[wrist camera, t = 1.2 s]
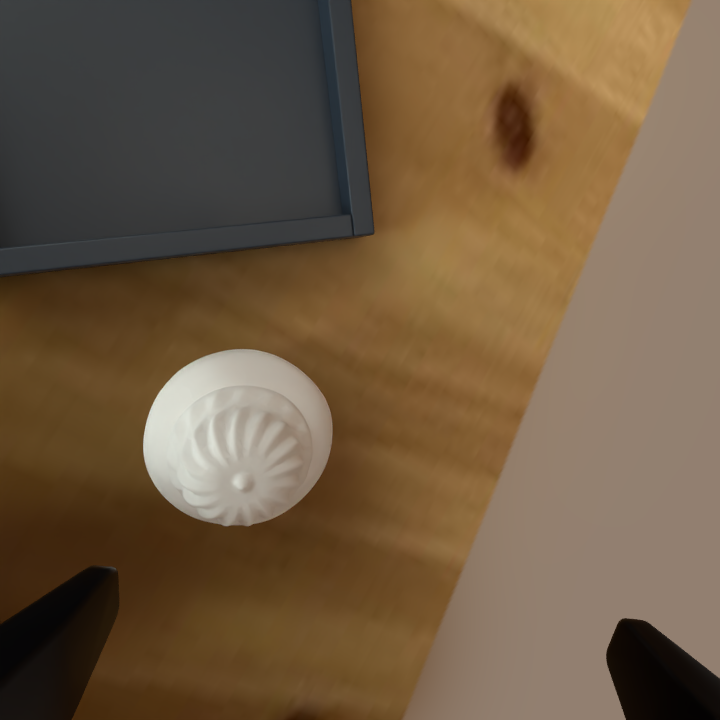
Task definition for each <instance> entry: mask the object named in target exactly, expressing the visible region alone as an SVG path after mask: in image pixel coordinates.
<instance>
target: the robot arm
mask: <svg viewBox="0 0 720 720" xmlns="http://www.w3.org/2000/svg"><path fill="white" fill-rule="evenodd" d="M118 609H119V585H118V572H117V570H116V568H114V567H107V566H97V565H93V566H90V567H88V568H86V569H84V570H83V571H81V572H80V573H78V574H77V575H75V576H74V577H72V578H71V579H69V580H68V581H66V582H64V583H63V584H61V585H60V586H58V587H57V588H55V589H54V590H52V591H51V592H49V593H48V594H46V595H45V596H43V597H42V598H40V599H38V600H37V601H35V602H34V603H32V604H31V605H29V606H28V607H26V608H25V609H23V610H22V611H20V612H19V613H17V614H15V615H14V616H12V617H11V618H9V619H8V620H6V621H5V622H3V623H2V624H0V720H71V719H72V717H73V715H74V713H75V711H76V709H77V706H78V704H79V702H80V700H81V697H82V695H83V693H84V691H85V688H86V686H87V684H88V681H89V679H90V677H91V675H92V672H93V670H94V668H95V665H96V663H97V661H98V658H99V656H100V654H101V652H102V649H103V647H104V645H105V642H106V640H107V638H108V636H109V633H110V631H111V629H112V626H113V624H114V622H115V619H116V617H117V613H118ZM606 659H607V665H608V668H609V671H610V674H611V677H612V680H613V683H614V686H615V689H616V692H617V695H618V697H619V700H620V703H621V706H622V709H623V712H624V715H625V718H626V720H720V678H718V677H717V676H716V675H714V674H713V673H712V672H711V671H709V670H708V669H707V668H706V667H704V666H703V665H702V664H700V663H699V662H698V661H697V660H695V659H694V658H693V657H692V656H690V655H689V654H688V653H686V652H685V651H684V650H683V649H681V648H680V647H679V646H678V645H676V644H675V643H674V642H672V641H671V640H670V639H669V638H667V637H666V636H665V635H663V634H662V633H661V632H660V631H658V630H657V629H656V628H655V627H653V626H652V625H651V624H649V623H648V622H646V621H643V620H637V619H627V618H625V619H622V620H620V621H619V623H618V624H617V627H616V629H615V631H614V634H613V636H612V639H611V641H610V644H609V646H608V649H607V654H606Z"/></svg>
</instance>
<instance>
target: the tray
mask: <svg viewBox="0 0 720 720" xmlns="http://www.w3.org/2000/svg"><path fill="white" fill-rule="evenodd" d="M373 234H374V222H373V212H372V203H371V193H370V183H369V173H368V163H367V153H366V143H365V133H364V123H363V114H362V104H361V94H360V84H359V74H358V64H357V54H356V44H355V34H354V25H353V15H352V5H351V0H0V277H6V276H16V275H25V274H34V273H43V272H52V271H61V270H70V269H79V268H88V267H97V266H106V265H115V264H124V263H133V262H142V261H151V260H161V259H170V258H179V257H188V256H197V255H206V254H215V253H224V252H233V251H242V250H251V249H260V248H269V247H278V246H287V245H296V244H305V243H315V242H324V241H333V240H342V239H351V238H360V237H364V236H369V235H373Z"/></svg>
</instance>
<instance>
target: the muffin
mask: <svg viewBox="0 0 720 720" xmlns="http://www.w3.org/2000/svg"><path fill="white" fill-rule="evenodd" d="M332 435H333V424H332V417H331V412H330V409H329V406H328V404H327V401H326V399H325V397H324V395H323V394H322V392H321V391H320V390H319V388H318V387H317V386H316V384H315V383H314V382H313V381H312V380H311V379H310V378H309V377H308V376H307V375H306V374H305V373H303V372H302V371H301V370H300V369H299V368H297V367H296V366H294V365H293V364H291V363H290V362H288V361H286V360H284V359H282V358H280V357H278V356H276V355H273V354H270V353H267V352H263V351H258V350H251V349H234V350H226V351H221V352H217V353H213V354H210V355H207V356H204V357H202V358H200V359H198V360H196V361H194V362H192V363H190V364H188V365H187V366H185V367H184V368H182V369H181V370H180V371H178V372H177V373H176V374H175V375H174V376H173V377H172V378H171V379H170V380H169V381H168V382H167V383H166V384H165V386H164V387H163V388H162V389H161V391H160V392H159V394H158V396H157V397H156V399H155V401H154V403H153V405H152V407H151V410H150V413H149V416H148V419H147V423H146V427H145V433H144V441H143V452H144V459H145V464H146V467H147V470H148V473H149V475H150V477H151V479H152V481H153V483H154V484H155V486H156V488H157V489H158V490H159V491H160V493H161V494H162V495H163V496H164V497H165V498H166V499H167V500H168V501H169V502H170V503H171V504H172V505H174V506H175V507H176V508H177V509H179V510H181V511H182V512H184V513H185V514H187V515H189V516H191V517H194V518H197V519H199V520H203V521H206V522H211V523H216V524H221V525H223V526H230V525H244V526H250V525H252V524H256V523H261V522H264V521H267V520H270V519H273V518H275V517H277V516H279V515H281V514H283V513H284V512H286V511H287V510H289V509H290V508H292V507H293V506H294V505H296V504H297V503H298V502H299V501H300V500H301V499H302V498H303V497H304V496H305V495H306V494H307V493H308V492H309V491H310V490H311V489H312V488H313V486H314V485H315V484H316V482H317V481H318V479H319V478H320V476H321V474H322V472H323V470H324V468H325V466H326V464H327V461H328V458H329V454H330V450H331V445H332Z"/></svg>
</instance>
